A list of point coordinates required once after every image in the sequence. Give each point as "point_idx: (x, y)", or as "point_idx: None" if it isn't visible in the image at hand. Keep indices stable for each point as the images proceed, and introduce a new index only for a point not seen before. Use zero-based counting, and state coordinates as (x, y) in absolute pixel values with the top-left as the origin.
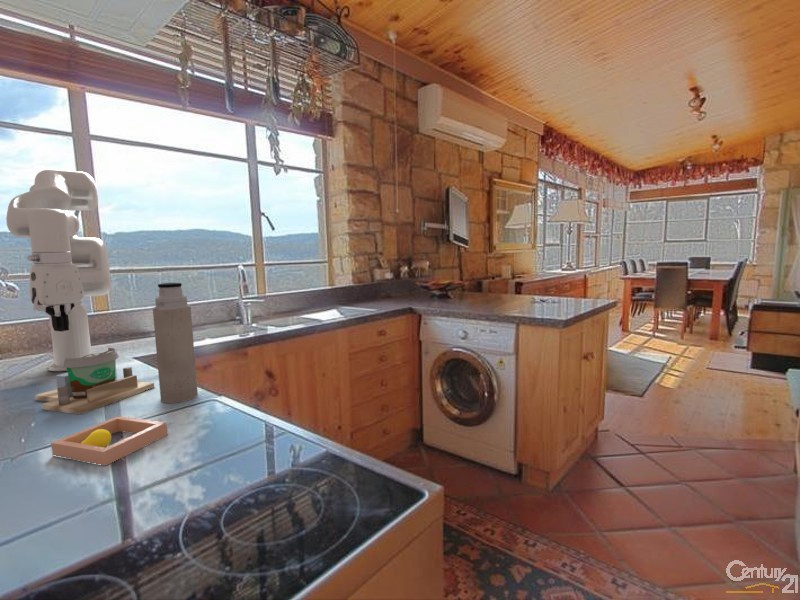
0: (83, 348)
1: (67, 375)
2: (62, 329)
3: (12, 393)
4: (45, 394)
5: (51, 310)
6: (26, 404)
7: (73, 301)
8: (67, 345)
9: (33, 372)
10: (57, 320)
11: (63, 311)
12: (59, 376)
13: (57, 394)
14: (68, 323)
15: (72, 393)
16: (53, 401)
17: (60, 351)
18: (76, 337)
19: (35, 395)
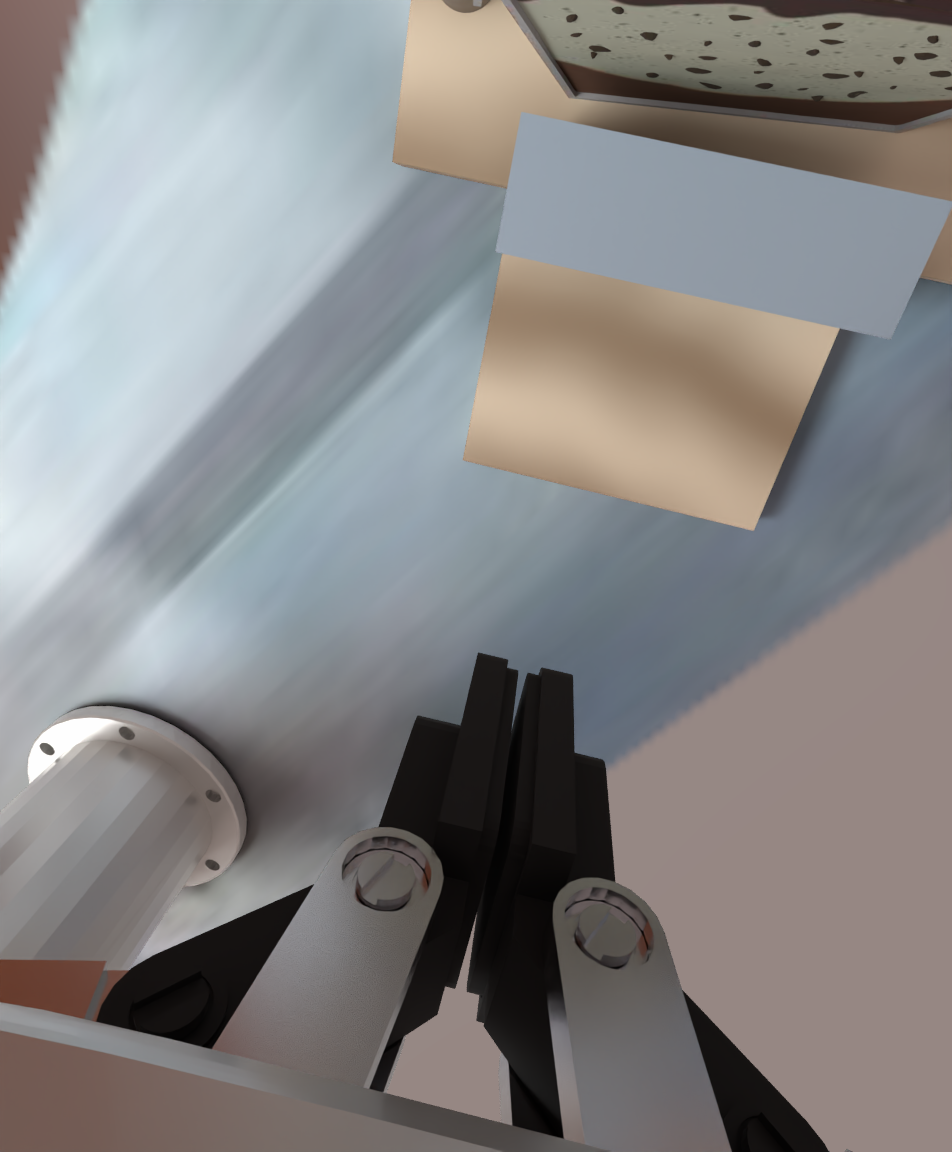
0: (56, 813)
1: (914, 204)
2: (572, 684)
3: (607, 743)
4: (747, 472)
5: (716, 1101)
6: (833, 505)
7: (184, 1069)
8: (107, 888)
9: (275, 895)
10: (587, 842)
11: (422, 959)
12: (916, 282)
13: (758, 381)
14: (417, 735)
15: (924, 124)
16: (945, 257)
17: (155, 886)
18: (24, 898)
19: (752, 528)
